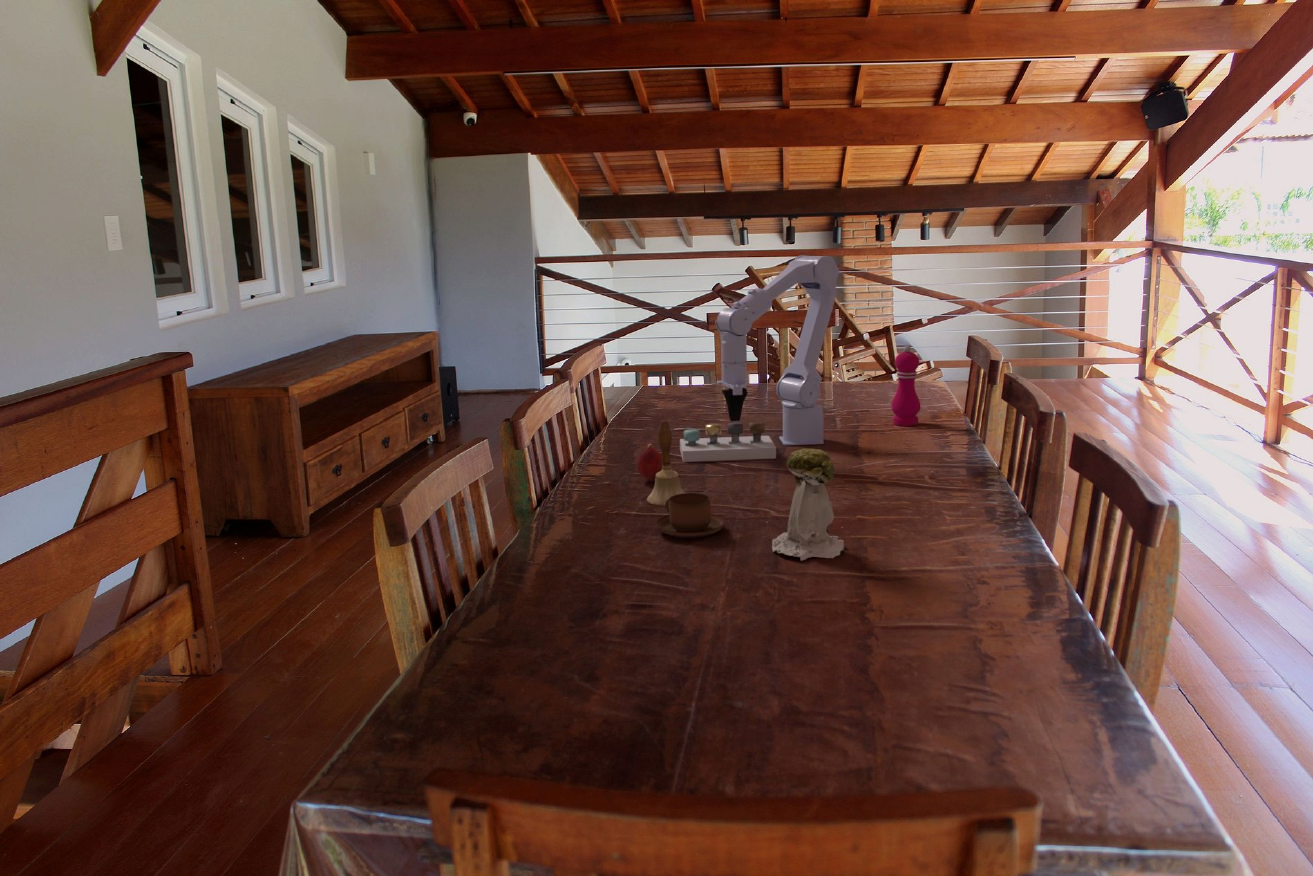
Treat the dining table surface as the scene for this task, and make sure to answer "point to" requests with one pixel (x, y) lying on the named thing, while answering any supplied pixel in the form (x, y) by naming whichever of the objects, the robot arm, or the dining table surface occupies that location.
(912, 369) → the pepper mill
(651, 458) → the onion
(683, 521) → the cup and saucer
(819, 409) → the robot arm
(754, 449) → the console
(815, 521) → the moss topped figurine
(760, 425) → the walnut key
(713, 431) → the brass dome cap
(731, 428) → the dark grey rounded knob
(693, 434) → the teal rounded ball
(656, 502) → the hand bell
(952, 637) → the dining table surface
